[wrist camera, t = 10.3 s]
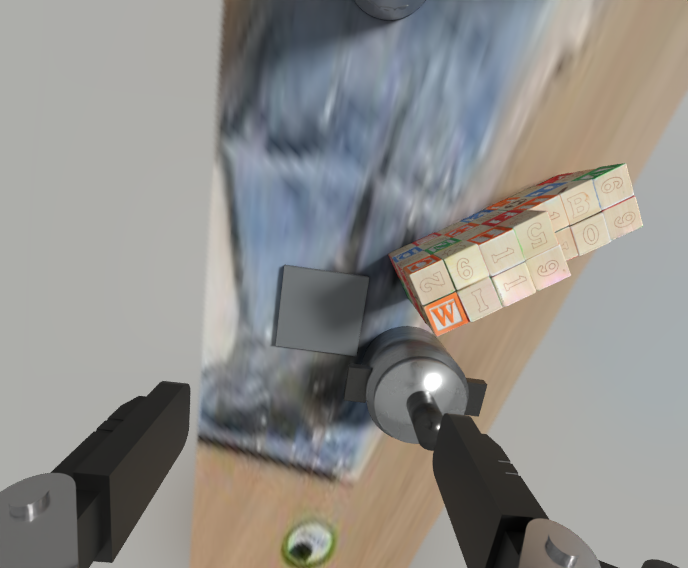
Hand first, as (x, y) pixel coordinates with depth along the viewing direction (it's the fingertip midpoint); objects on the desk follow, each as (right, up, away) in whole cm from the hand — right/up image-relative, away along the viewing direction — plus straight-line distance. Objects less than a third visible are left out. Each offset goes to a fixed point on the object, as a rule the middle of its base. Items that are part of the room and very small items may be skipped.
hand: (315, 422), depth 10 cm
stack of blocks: (+17, +10, +29) cm, 35 cm away
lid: (+9, -8, +25) cm, 28 cm away
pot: (+9, -6, +32) cm, 34 cm away
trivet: (-2, +1, +30) cm, 30 cm away
